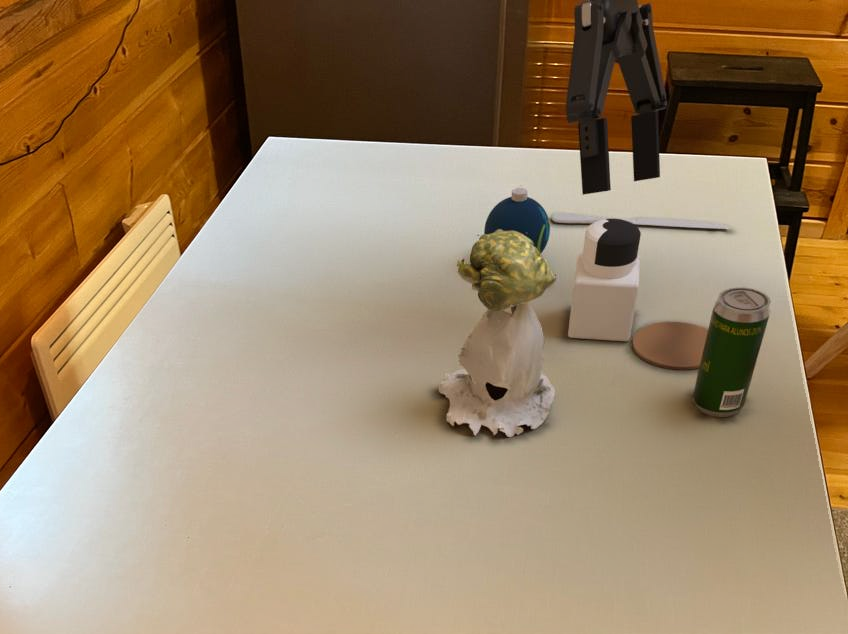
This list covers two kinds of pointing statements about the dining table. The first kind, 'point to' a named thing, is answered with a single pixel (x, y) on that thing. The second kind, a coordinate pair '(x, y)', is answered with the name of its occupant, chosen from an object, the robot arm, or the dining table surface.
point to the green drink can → (731, 351)
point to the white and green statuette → (502, 338)
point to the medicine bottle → (606, 282)
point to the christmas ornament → (520, 218)
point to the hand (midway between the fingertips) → (622, 186)
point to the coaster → (671, 345)
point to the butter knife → (635, 221)
